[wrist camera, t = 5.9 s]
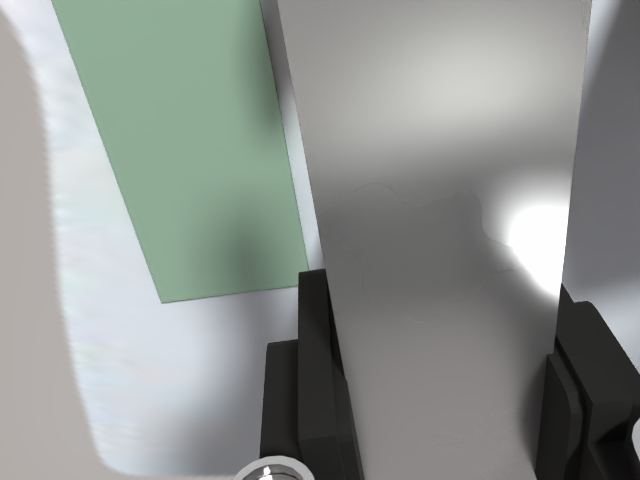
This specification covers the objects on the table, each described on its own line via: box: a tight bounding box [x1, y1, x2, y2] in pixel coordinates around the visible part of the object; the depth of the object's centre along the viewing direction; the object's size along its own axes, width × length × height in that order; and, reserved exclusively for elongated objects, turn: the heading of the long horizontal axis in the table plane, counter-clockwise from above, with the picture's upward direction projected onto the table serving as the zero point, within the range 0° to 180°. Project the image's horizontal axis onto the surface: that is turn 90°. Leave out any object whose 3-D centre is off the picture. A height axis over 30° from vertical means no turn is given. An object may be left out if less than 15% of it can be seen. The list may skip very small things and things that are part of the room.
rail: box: [277, 0, 592, 480], centre depth 11 cm, size 20×3×3 cm, turn 8°
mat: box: [51, 0, 309, 303], centre depth 28 cm, size 26×9×1 cm, turn 8°
